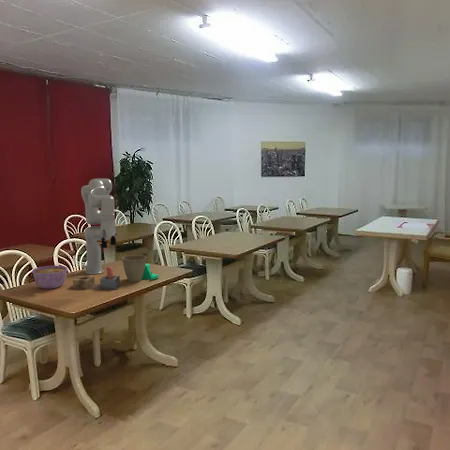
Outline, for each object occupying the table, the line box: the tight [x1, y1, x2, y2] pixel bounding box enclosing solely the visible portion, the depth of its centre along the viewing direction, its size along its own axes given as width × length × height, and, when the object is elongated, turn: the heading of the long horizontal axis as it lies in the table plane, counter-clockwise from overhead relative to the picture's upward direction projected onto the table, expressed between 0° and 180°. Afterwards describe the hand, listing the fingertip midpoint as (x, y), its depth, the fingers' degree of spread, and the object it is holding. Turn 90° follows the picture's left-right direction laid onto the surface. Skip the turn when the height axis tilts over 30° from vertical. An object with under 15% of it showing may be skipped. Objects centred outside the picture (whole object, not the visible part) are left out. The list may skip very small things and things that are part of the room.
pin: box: [106, 266, 114, 279], centre depth 280 cm, size 3×3×12 cm
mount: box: [72, 275, 96, 290], centre depth 281 cm, size 10×9×5 cm
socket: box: [99, 274, 121, 289], centre depth 280 cm, size 9×9×6 cm
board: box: [70, 283, 123, 291], centre depth 281 cm, size 28×12×1 cm, turn 86°
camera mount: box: [141, 263, 159, 281], centre depth 305 cm, size 12×8×10 cm, turn 58°
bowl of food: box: [31, 265, 68, 290], centre depth 281 cm, size 20×20×12 cm
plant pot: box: [122, 254, 147, 283], centre depth 296 cm, size 15×15×16 cm
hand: (108, 246), depth 277 cm, fingers open, 9 cm apart
